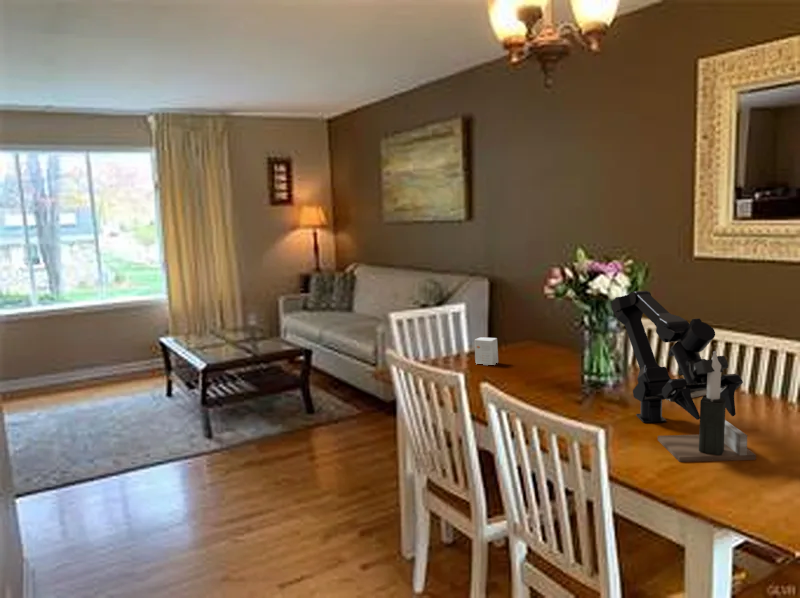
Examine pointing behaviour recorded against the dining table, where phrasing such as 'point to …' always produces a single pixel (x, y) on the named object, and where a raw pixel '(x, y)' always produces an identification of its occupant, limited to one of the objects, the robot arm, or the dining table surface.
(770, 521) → the dining table surface
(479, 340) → the small box
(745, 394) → the dining table surface
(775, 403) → the dining table surface
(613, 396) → the dining table surface
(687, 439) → the shelf board
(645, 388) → the robot arm
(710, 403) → the candle
